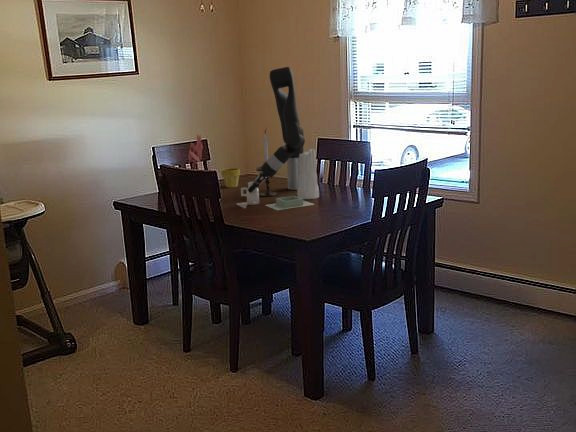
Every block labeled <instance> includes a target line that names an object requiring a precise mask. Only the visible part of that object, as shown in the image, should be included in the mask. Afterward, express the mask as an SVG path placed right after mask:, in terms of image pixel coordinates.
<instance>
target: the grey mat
mask: <svg viewBox="0 0 576 432" xmlns="http://www.w3.org/2000/svg"><path fill="white" fill-rule="evenodd" d="M236 206H237V207H241V208H242V209H246V208H247V206H249V204H247V201H246V202H237V203H236Z"/></svg>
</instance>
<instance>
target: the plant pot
mask: <svg viewBox="0 0 576 432" xmlns="http://www.w3.org/2000/svg"><path fill="white" fill-rule="evenodd" d="M220 172H221V177H223V182H224V185H225V188H237V187H238V186H239V178H240V175H241V169H240V168H238V167H230V168H229V167H228V168H224V169H221V171H220Z"/></svg>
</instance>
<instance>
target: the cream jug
mask: <svg viewBox="0 0 576 432" xmlns="http://www.w3.org/2000/svg"><path fill="white" fill-rule="evenodd" d="M253 183H254V181H249V182H247V186H248V187H241V188H240V195H241V197H246V202H247V204H248V206H249V205H250V206H253V205H254V206H255V205H259V204H260V195H259V194H260V191H259V190H260V189H259V187H257V188H255V189H254V190H253V191H252V192H251V193H250V192H249V191H248V189H249V188H250V187H251V186H252V185H253ZM245 190H246V193H244V191H245Z"/></svg>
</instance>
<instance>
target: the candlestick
mask: <svg viewBox="0 0 576 432" xmlns="http://www.w3.org/2000/svg"><path fill="white" fill-rule="evenodd" d="M263 132H264V135H263V153H264V162H263V164H264V163H265V162H266V161H267V160H268V158H269V150H268V149H269V147H268V145H269V144H268V136H267V134H266V132H267V128H265V129H264V131H263ZM256 171H257V172H260V173H262V172H263V171H262V170H261V166H259V167H256ZM269 178H270V177H269V176H266V180H265V181H264V183H265V187H266V190H265V191H264V192H259V198H260V197H261V198H273V197H277V196H278V193H277V192H275V191H271V190H270V187H271V185H270V183H271V180H270V179H269Z"/></svg>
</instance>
